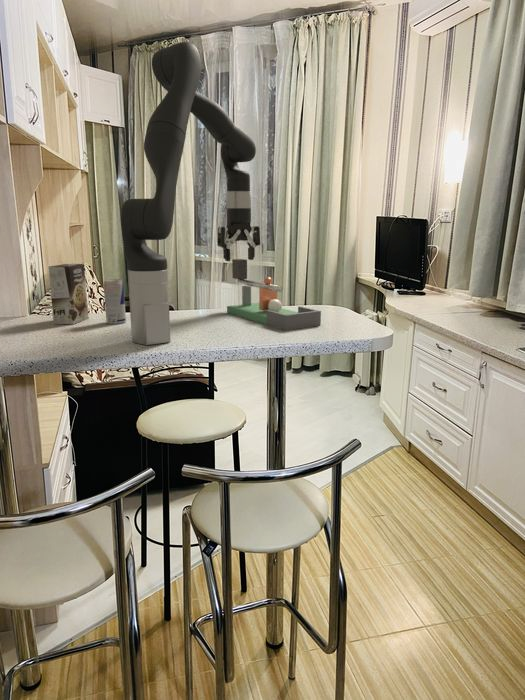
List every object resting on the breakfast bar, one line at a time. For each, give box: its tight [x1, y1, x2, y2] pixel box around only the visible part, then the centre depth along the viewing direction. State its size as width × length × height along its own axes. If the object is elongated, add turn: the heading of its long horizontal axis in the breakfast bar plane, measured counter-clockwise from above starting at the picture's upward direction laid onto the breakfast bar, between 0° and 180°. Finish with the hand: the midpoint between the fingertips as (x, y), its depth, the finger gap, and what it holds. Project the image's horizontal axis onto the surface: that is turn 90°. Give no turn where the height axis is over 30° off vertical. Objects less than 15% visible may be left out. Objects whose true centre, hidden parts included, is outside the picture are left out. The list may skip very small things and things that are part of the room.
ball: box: [268, 298, 283, 312], centre depth 152 cm, size 4×4×4 cm
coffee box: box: [48, 263, 89, 325], centre depth 148 cm, size 9×6×16 cm
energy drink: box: [103, 278, 127, 325], centre depth 147 cm, size 5×5×12 cm
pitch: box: [226, 285, 322, 331], centre depth 153 cm, size 31×12×8 cm, turn 34°
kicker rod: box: [231, 258, 283, 311], centre depth 158 cm, size 24×5×14 cm, turn 34°
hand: (239, 260), depth 164 cm, fingers open, 8 cm apart
